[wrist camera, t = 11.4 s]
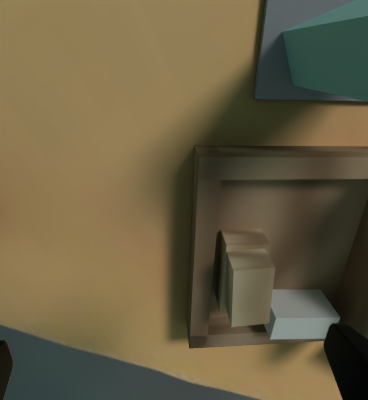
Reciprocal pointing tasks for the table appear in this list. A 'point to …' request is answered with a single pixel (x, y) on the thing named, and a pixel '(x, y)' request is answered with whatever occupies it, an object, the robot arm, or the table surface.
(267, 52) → the felt mat
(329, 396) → the table surface
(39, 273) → the table surface
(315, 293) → the offcut side
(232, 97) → the table surface
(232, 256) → the offcut top
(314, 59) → the teal rectangular block
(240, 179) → the tray
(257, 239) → the offcut low
